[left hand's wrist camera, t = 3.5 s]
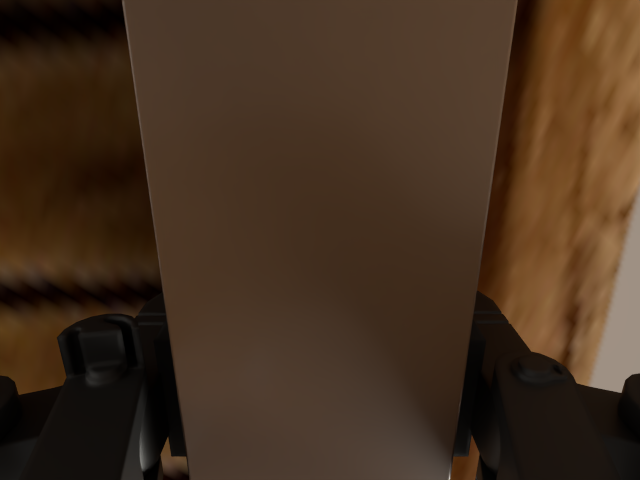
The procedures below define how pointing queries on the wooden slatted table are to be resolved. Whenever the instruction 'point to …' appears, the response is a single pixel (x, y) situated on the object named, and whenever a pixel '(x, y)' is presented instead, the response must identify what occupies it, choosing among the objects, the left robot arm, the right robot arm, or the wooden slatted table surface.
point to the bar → (319, 223)
